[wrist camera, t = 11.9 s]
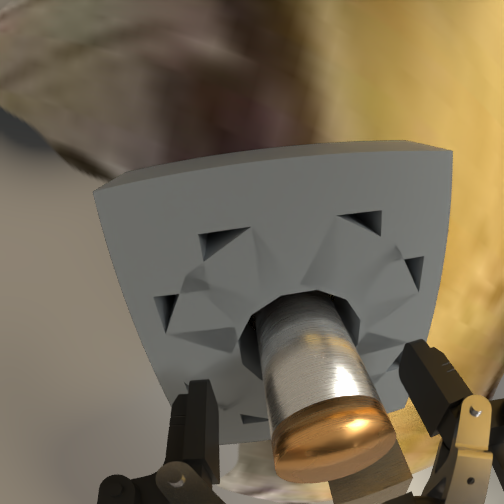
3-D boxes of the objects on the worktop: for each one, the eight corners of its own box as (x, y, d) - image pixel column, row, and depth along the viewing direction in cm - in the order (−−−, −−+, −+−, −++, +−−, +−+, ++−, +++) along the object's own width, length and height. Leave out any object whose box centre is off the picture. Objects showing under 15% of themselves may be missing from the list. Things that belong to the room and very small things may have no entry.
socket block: (125, 172, 14) (92, 191, 10) (405, 140, 14) (452, 151, 10) (195, 400, 20) (192, 446, 16) (383, 368, 20) (404, 407, 17)
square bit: (307, 402, 21) (334, 505, 13) (370, 381, 21) (412, 477, 13) (317, 431, 23) (339, 519, 15) (371, 413, 23) (404, 496, 15)
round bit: (248, 270, 16) (271, 442, 7) (323, 259, 16) (409, 410, 7) (256, 329, 18) (278, 489, 9) (323, 319, 18) (382, 466, 9)
